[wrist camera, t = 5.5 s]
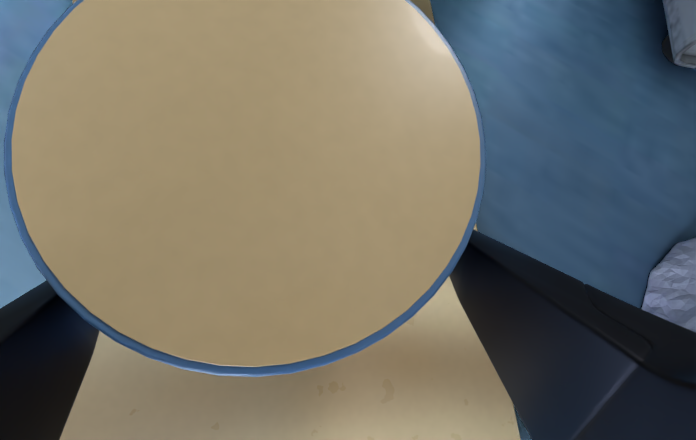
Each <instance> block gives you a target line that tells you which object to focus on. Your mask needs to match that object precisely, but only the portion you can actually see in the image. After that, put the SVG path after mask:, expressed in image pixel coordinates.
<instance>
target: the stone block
mask: <svg viewBox="0 0 696 440" xmlns="http://www.w3.org/2000/svg"><path fill="white" fill-rule="evenodd" d="M642 310H644V311H647V312H649V313H651V314H653V315H656V316H658V317H660V318H663V319H665V320H668V321H670V322H672V323H675V324H677V325H679V326H682V327H684V328H687V329H689V330H691V331H694V332H696V238H693V239H690V240H687V241H684V242H678V243H677V244H676V245H675V246H674V247H673V248H672V249H671V251H670V252H669V253H668V254H667V255H666V256H665V258H664V259H663V260H662V261H661V262H660V263H659V264H658V265H657V266H656V267H655V268H654V269H653V270H652V271H651V272H650V276H649V279H648V287H647V290H646V293H645V297H644V302H643V305H642Z"/></svg>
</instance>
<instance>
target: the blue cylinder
mask: <svg viewBox="0 0 696 440" xmlns="http://www.w3.org/2000/svg"><path fill="white" fill-rule="evenodd" d="M485 173H486V145H485V136H484V129H483V123H482V117H481V113H480V110H479V106H478V103H477V99H476V96H475V92H474V90H473V87H472V85H471V83H470V81H469V78H468V76H467V74H466V71H465V69H464V67H463V65H462V64H461V62H460V60H459V58H458V57H457V55H456V53H455V52H454V50H453V48H452V46H451V45H450V44H449V42H448V41H447V40H446V38H445V37H444V36H443V34H442V33H441V32H440V30H439V29H438V28H437V26H436V25H435V24H434V23H433V22H432V21H431V20H430V19H429V18H428V17H427V16H426V15H425V14H424V13H423V12H422V10H421V9H420V8H419V7H417V6H416V5H415V4H414V3H413V2H412V1H410V0H77V1H76V2H75V3H73V4H72V5H71V6H70V7H69V8H68V9H67V10H66V11H65V12H64V13H63V14H62V15H61V16H60V18H59V19H58V20H57V21H56V22H55V23H54V24H53V25H52V26H51V27H50V28H49V30H48V31H47V33H46V34H45V35H44V37H43V38H42V40H41V41H40V43H39V44H38V46H37V47H36V49H35V50H34V51H33V53H32V54H31V57H30V59H29V61H28V63H27V65H26V67H25V69H24V71H23V73H22V75H21V77H20V79H19V81H18V84H17V87H16V90H15V93H14V96H13V99H12V103H11V106H10V109H9V113H8V120H7V126H6V133H5V139H4V175H5V181H6V186H7V192H8V198H9V204H10V208H11V211H12V214H13V217H14V219H15V222H16V225H17V228H18V231H19V234H20V237H21V239H22V241H23V243H24V244H25V246H26V248H27V250H28V252H29V254H30V255H31V257H32V259H33V261H34V263H35V265H36V267H37V268H38V270H39V271H40V272H41V273H42V275H43V276H44V277H45V279H46V280H47V281H48V283H49V284H50V285H51V286H52V288H53V289H54V290H55V292H56V293H57V294H58V296H60V297H61V298H62V299H63V300H64V301H65V302H66V303H67V304H68V305H69V306H70V307H71V308H72V309H73V310H74V311H75V312H76V313H77V314H79V315H80V316H81V317H82V318H83V319H84V320H85V321H86V322H88V323H89V324H91V325H92V326H93V327H95V328H96V329H98V330H99V331H101V332H102V333H104V334H105V335H106V336H108V337H109V338H111V339H112V340H114V341H115V342H117V343H119V344H121V345H123V346H125V347H127V348H129V349H131V350H133V351H135V352H137V353H139V354H141V355H143V356H145V357H147V358H150V359H153V360H156V361H159V362H162V363H165V364H168V365H171V366H174V367H177V368H180V369H184V370H189V371H195V372H201V373H207V374H212V375H218V376H240V377H262V376H272V375H281V374H291V373H296V372H300V371H304V370H308V369H312V368H316V367H320V366H325V365H328V364H330V363H333V362H335V361H338V360H340V359H343V358H345V357H348V356H351V355H353V354H356V353H358V352H360V351H362V350H363V349H365V348H367V347H369V346H371V345H372V344H374V343H376V342H378V341H380V340H381V339H383V338H385V337H387V336H388V335H389V334H391V333H392V332H393V331H395V330H396V329H397V328H399V327H400V326H401V325H403V324H404V323H405V322H407V321H408V320H409V319H411V318H412V317H413V316H414V315H415V314H416V313H417V312H418V311H419V310H420V309H421V308H422V307H423V306H424V305H425V304H426V303H427V302H428V301H429V300H430V299H431V298H432V297H433V296H434V295H435V294H436V292H437V291H438V290H439V288H440V287H441V286H442V285H443V283H444V282H445V281H446V279H447V278H448V277H449V275H450V274H451V273H452V271H453V269H454V268H455V266H456V264H457V262H458V261H459V259H460V257H461V255H462V254H463V252H464V250H465V248H466V246H467V244H468V241H469V239H470V236H471V234H472V231H473V228H474V226H475V223H476V221H477V217H478V213H479V209H480V205H481V201H482V197H483V192H484V182H485Z"/></svg>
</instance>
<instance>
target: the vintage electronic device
mask: <svg viewBox="0 0 696 440" xmlns="http://www.w3.org/2000/svg"><path fill="white" fill-rule="evenodd" d="M663 5H664V10H665V16H666V21H667V27H668V32H669V35H668V36H666V38H665V39H664V41H663V42H662V51H663V53H664V55H665V56H666V58H667V59H668V60H669V61H671V62H672V63H674V64H675V65H677V66H682V67H688V68H695V69H696V0H663Z"/></svg>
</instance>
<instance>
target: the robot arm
mask: <svg viewBox="0 0 696 440" xmlns="http://www.w3.org/2000/svg"><path fill="white" fill-rule="evenodd" d="M449 277H450V279H451V282H452V285H453V287H454V290H455V292H456V295H457V297H458V299H459V301H460V303H461V305H462V307H463V309H464V311H465V313H466V315H467V317H468V319H469V321H470V323H471V325H472V326H473V328H474V330H475V332H476V334H477V336H478V338H479V340H480V342H481V344H482V345H483V347H484V349H485V351H486V353H487V355H488V357H489V359H490V361H491V363H492V364H493V366H494V368H495V370H496V372H497V374H498V376H499V378H500V380H501V381H502V383H503V385H504V387H505V389H506V391H507V393H508V395H509V397H510V399H511V400H512V402H513V404H514V406H515V408H516V410H517V412H518V414H519V416H520V418H521V419H522V421H523V423H524V425H525V427H526V429H527V431H528V433H529V435H530V437H531V438H532V440H696V332H694V331H691V330H689V329H687V328H684V327H682V326H679V325H677V324H675V323H672V322H670V321H668V320H665V319H663V318H660V317H658V316H656V315H653V314H651V313H649V312H647V311H644V310H642V309H640V308H637V307H635V306H633V305H630V304H628V303H626V302H624V301H622V300H619V299H617V298H615V297H613V296H611V295H609V294H606V293H604V292H602V291H600V290H598V289H596V288H594V287H592V286H590V285H588V284H584V283H583V282H581V281H579V280H577V279H575V278H573V277H571V276H569V275H567V274H565V273H563V272H561V271H559V270H557V269H554V268H552V267H550V266H548V265H546V264H544V263H542V262H540V261H538V260H536V259H534V258H532V257H530V256H528V255H525V254H523V253H521V252H519V251H517V250H515V249H513V248H511V247H509V246H507V245H505V244H503V243H501V242H498V241H496V240H494V239H492V238H490V237H488V236H486V235H484V234H482V233H480V232H478V231H476V230H474V229H473V231H472V234H471V236H470V239H469V241H468V244H467V246H466V248H465V250H464V252H463V254H462V255H461V257H460V259H459V261H458V262H457V264H456V266H455V268H454V269H453V271H452V273H451V274H450V275H449ZM98 335H99V330H98V329H96V328H95V327H93V326H92V325H91V324H89V323H88V322H86V321H85V320H84V319H83V318H82V317H81V316H80V315H79V314H77V313H76V312H75V311H74V310H73V309H72V308H71V307H70V306H69V305H68V304H67V303H66V302H65V301H64V300H63V299H62V298H61V297H60V296H58V294H57V293H56V292H55V290H54V289H53V288H52V286H51V285H50V284H49V283H48V281H45V282H43V283H42V284H40V285H39V286H37V287H35V288H34V289H32V290H30V291H29V292H27V293H25V294H24V295H22V296H20V297H19V298H17V299H16V300H14V301H12V302H11V303H9V304H7V305H6V306H4V307H2V308H1V309H0V440H60V437H61V435H62V432H63V429H64V427H65V424H66V422H67V419H68V417H69V414H70V412H71V409H72V407H73V404H74V402H75V399H76V396H77V394H78V391H79V389H80V386H81V384H82V381H83V379H84V376H85V374H86V371H87V369H88V366H89V363H90V361H91V358H92V355H93V352H94V349H95V346H96V342H97V338H98Z"/></svg>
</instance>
